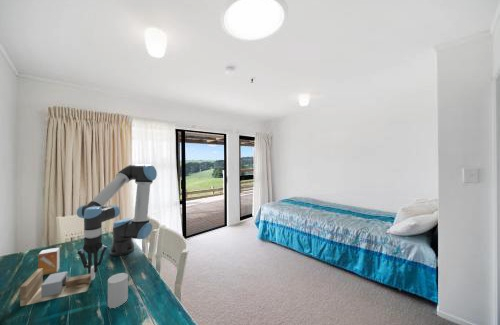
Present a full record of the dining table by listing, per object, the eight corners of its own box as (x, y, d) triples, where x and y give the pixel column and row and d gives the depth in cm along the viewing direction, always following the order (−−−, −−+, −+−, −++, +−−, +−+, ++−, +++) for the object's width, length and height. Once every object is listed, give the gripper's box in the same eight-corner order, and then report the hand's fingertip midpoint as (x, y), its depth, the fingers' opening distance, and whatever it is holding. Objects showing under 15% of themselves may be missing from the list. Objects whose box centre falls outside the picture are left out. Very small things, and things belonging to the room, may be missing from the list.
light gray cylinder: (131, 298, 99) (131, 274, 98) (115, 310, 91) (116, 284, 91) (119, 294, 101) (119, 271, 101) (103, 305, 94) (103, 280, 93)
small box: (38, 276, 115) (37, 254, 115) (41, 271, 120) (41, 250, 120) (57, 272, 119) (57, 251, 119) (59, 267, 125) (59, 246, 124)
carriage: (67, 281, 108) (67, 271, 108) (60, 293, 99) (60, 281, 99) (50, 285, 105) (50, 274, 105) (41, 297, 96) (41, 285, 96)
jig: (94, 276, 116) (94, 259, 116) (86, 293, 102) (86, 273, 102) (37, 288, 105) (37, 269, 105) (20, 308, 91) (20, 286, 91)
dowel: (91, 280, 111) (91, 273, 111) (89, 284, 107) (89, 277, 107) (68, 285, 106) (68, 277, 106) (65, 289, 102) (65, 282, 102)
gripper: (108, 231, 115) (108, 271, 116) (79, 235, 109) (79, 277, 109) (106, 236, 108) (106, 279, 109) (75, 240, 102) (75, 285, 103)
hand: (92, 278), depth 109 cm, fingers closed
